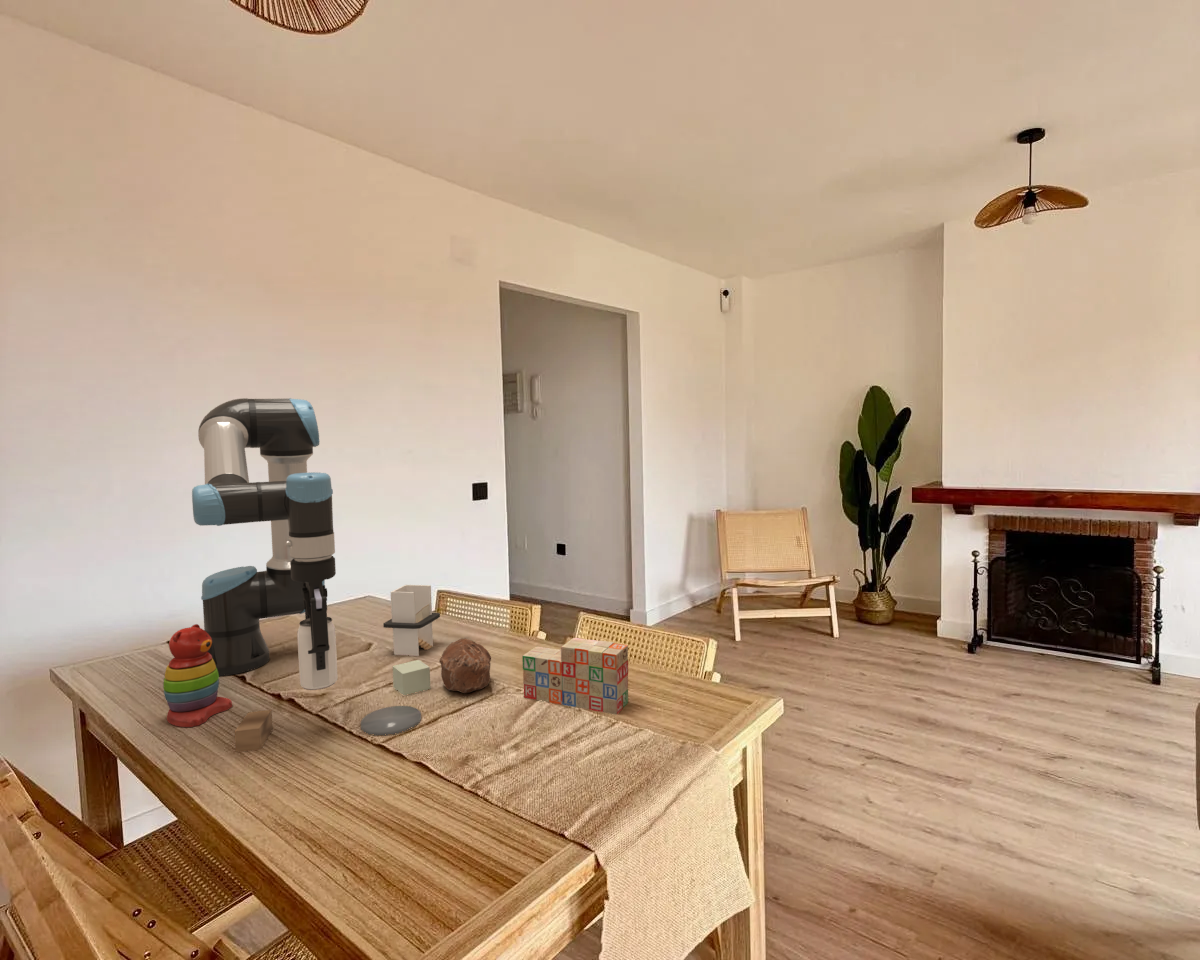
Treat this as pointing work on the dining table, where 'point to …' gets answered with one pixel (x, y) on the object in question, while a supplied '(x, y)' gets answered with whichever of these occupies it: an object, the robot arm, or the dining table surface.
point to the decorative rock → (465, 666)
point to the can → (306, 659)
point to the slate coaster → (390, 720)
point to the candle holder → (411, 619)
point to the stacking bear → (192, 679)
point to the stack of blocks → (579, 675)
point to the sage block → (411, 677)
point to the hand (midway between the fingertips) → (318, 678)
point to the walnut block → (253, 731)
